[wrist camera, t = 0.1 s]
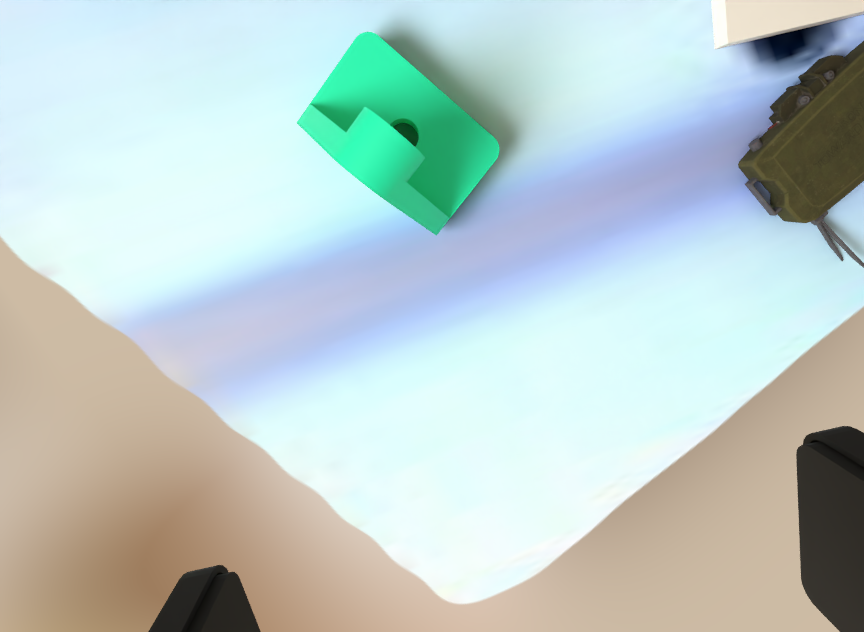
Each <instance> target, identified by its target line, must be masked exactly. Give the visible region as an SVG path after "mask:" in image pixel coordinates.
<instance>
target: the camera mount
mask: <svg viewBox="0 0 864 632" xmlns="http://www.w3.org/2000/svg"><path fill="white" fill-rule="evenodd" d="M399 123H407V124H409V125H411V126H413V127H414V128H415V130H416V132H417V134H418V142H417V145H416V146H415V147H414V146H413V145H412V144H411V143H410V142H409V141H408V140H407V139H406V138H404V137H403V136H402V135H401V134H400V133H399V132H398V131H396V130H395V129H394V128H393V127H394V126H395V125H397V124H399ZM297 124H298V125H299V126H300V127H302V128H303V129H304V130H305V131H306V132H307V133H308V134H309V135H310V136H311V137H312V138H313V139H314V140H315V141H316V142H317V143H318V144H319V145H320V146H321V147H322V148H323V149H324V150H325V151H326V152H327V153H328V154H329V155H330V156H331V157H332V158H333V159H334V160H336V161H337V162H338V163H339V164H340V165H341V166H342V167H344V168H345V169H346V170H347V171H348V172H350V173H351V174H352V175H353V176H355V177H356V178H357V179H358V180H359V181H361V182H362V183H363V184H365V185H366V186H367V187H368V188H370V189H371V190H372V191H374V192H375V193H376V194H378V195H379V196H380V197H382V198H383V199H384V200H386V201H387V202H389V203H390V204H392V205H393V206H395V207H396V208H397V209H399V210H400V211H402V212H403V213H405V214H406V215H408V216H409V217H410V218H412V219H413V220H415V221H416V222H418V223H419V224H421V225H422V226H424V227H425V228H426V229H428V230H429V231H431V232H432V233H434V234H435V235H437V234H438V233H439V232H440V230H441V229H442V228H443V227H444V225H445V224H446V223H447V221H448V220H449V219H450V218H451V216H452V215H453V214H454V213H455V211H456V210H457V209H458V208H459V206H460V205H461V204H462V203H463V201H464V200H465V199H466V197H467V196H468V195H469V194H470V192H471V191H472V190H473V189H474V187H475V186H476V185H477V184H478V182H479V181H480V180H481V179H482V177H483V176H484V175H485V173H486V172H487V171H488V170H489V168H490V167H491V166H492V165H493V163H494V162H495V161H496V159H497V158H498V155H499V144H498V142H497V140H496V139H495V138H494V137H493V136H492V135H491V134H490V133H489V132H487V131H486V130H485V129H484V128H483V127H482V126H481V125H479V124H478V123H477V122H476V121H475V120H474V119H473V118H471V117H470V116H469V115H468V114H467V113H466V112H465V111H464V110H462V109H461V108H460V107H459V106H458V105H457V104H456V103H454V102H453V101H452V100H451V99H450V98H449V97H448V96H446V95H445V94H444V93H443V92H442V91H441V90H440V89H438V88H437V87H436V86H435V85H434V84H433V83H432V82H430V81H429V80H428V79H427V78H426V77H425V76H424V75H423V74H421V73H420V72H419V71H418V70H417V69H416V68H415V67H413V66H412V65H411V64H410V63H409V62H408V61H407V60H405V59H404V58H403V57H402V56H401V55H400V54H399V53H397V52H396V51H395V50H394V49H393V48H392V47H391V46H389V45H388V44H387V43H386V42H385V41H384V40H383V39H382V38H380V37H379V36H378V35H377V34H375V33H372V32H365V33H362V34H360V35H358V36H357V37H356V39H355V40H354V41H353V43H352V44H351V46H350V47H349V49H348V50H347V52H346V53H345V54H344V56H343V57H342V59H341V60H340V62H339V63H338V64H337V66H336V67H335V69H334V70H333V72H332V73H331V74H330V76H329V77H328V79H327V80H326V82H325V83H324V85H323V86H322V87H321V89H320V90H319V92H318V93H317V95H316V96H315V97H314V99H313V100H312V102H311V103H310V105H309V106H308V107H307V109H306V110H305V112H304V113H303V115H302V116H301V118H300V119H299V120H298V122H297Z"/></svg>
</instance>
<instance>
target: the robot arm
mask: <svg viewBox="0 0 864 632" xmlns="http://www.w3.org/2000/svg"><path fill="white" fill-rule="evenodd" d="M797 480H798V481H797V482H798V508H799V531H800V533H799V534H800V558H801V559H800V560H801V580H802V584H803V587H804V589H805V592H806V594H807V596H808V597H809V599H810V600H811V602H812V603H813V604H814V605H815V606H816V607H817V608H818V609H819V611H821V613H822V614H823V615H824V616H825V617H826V618H827V619H828V620H829V621H830V622H831V623H832V624H833V625H834V626H835V627H836V628H837V629H838V630H839V631H840V632H864V433H863V432H861V431H859V430H857V429H855V428H852V427H849V426H842V427H838V428H833V429H828V430H824V431H819V432H815V433H811V434H809V435H807V436H806V437H805V439H804V442H803V445H801V446H800V447H799V448H798V449H797ZM149 632H260V629H259V627H258V624H257V622H256V619H255V616H254V614H253V612H252V609H251V606H250V604H249V601H248V599H247V596H246V594H245V591H244V588H243V586H242V583H241V581H240V579H239V576H238V575H237V574H236V573H235V572H228V570H227V569H226V568H225V567H224V566H223V565H217V566H213V567H209V568H204V569H200V570H195V571H190V572H187V573H185V574H184V575H183V576H182V577H181V578H180V579H179V581H178V583H177V584H176V586H175V588H174V589H173V591H172V593H171V594H170V596H169V598H168V600H167V601H166V603H165V605H164V606H163V608H162V610H161V611H160V613H159V615H158V617H157V618H156V620H155V622H154V623H153V625H152V627H151V628H150V630H149Z"/></svg>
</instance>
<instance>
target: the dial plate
mask: <svg viewBox="0 0 864 632" xmlns="http://www.w3.org/2000/svg"><path fill="white" fill-rule="evenodd" d="M711 3H712V17H713V31H714V45H715V49H719V48H723V47H727V46H732V45H736V44H740V43H744V42H748V41H753V40H757V39H761V38H765V37H770V36H774V35H778V34H782V33H787V32H791V31H795V30H799V29H803V28H808V27H812V26H816V25H820V24H825V23H829V22H833V21H837V20H841V19H846V18H850V17H854V16H858V15H863V14H864V0H711Z"/></svg>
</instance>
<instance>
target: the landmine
mask: <svg viewBox="0 0 864 632" xmlns="http://www.w3.org/2000/svg"><path fill="white" fill-rule="evenodd" d="M798 78H799V79H800V80H801V83H800V84H799V85H796V86H792V87H788V88H787V89H786V90H787V91H786V92H785V93H784V94H783V95H782V96H780V97H779V98H778V99H777V100H776V101H775V102H774V103H773V104H772V105H771V106H770V108H771V109H772V111H773V112H774V114H773V115H772V116H771V117H769V119H770V120H771V122H772V123H773V125H772V126H771V127H770V128H768V129H769V130H768V131H767V132H766V133H765V134H764V135H763V136H762V137H761V138H760V139H755V140H753V141H752V142H751V143H750V144H749V145H748V146H749V147H750V150H749V151H748V152H747V153H746V155H745V156H744V157H743V158H742V159H741V160H740V162H739V164H738V167H739V168H740V169H741V171H742V172H743V173H744V174H745V176H746V177H747V178H748V179H749V181H748V182H747V183H746V184H745V185H746V186H747V188H748V189H749V190H750V191H751V192H752V194H753V195H754V196H755V197H756V199H757V200H758V201H759V202H760V203H761V205H762V206H763V207H764V208H765V209H766V211H767V212H768V213H769V214H770V215H777V214H778V215H779V217H780V218H781V219H782V220H783V221H788V222H798V223H808V222H811V223H812V224H814V225H817V227H818V229H819V230H820V232H821V233H822V235H823V236H824V238H825V240H826V241H827V243H828V244H829V246H830V247H831V248H832V250H833V251H834V252H835V253H836V255H837V256H838V257H839V258H840V259H841V261H843V257H842V255H841V254H840V252H839V251H838V249H837V247H836V246H835V244H834V243H833V241H832V239H831V238H830V236H831V237H832V238H833V239H834V240H835V241H836V242H837V243H838V244H839V245H840V246H841V247H842V248H843V249H844V250H845V251H846V252H847V253H848V254H849V255H850V256H851V257H852V258H853V259H854V260H855V261H856V262H857V263H859V264H860V265H861V266H862V267H863V268H864V263H863V262H862V261H861V260H860V259H859V258H858V257H857V256H856V255H855V254H854V253H853V252H852V251H851V250H850V249H849V247H848V246H847V245H846V244H845V243H844V242H843V241H842V240H841V239H840V238H839V237H838V236H837V235H836V234H835V233H834V232H833V231H832V230H831V229H830V228H829V227H828V225H827V224H826V223H825V222H824V221H823V219H824V217H825V216H826V215H827V214H828V212H827V210H828V209H830V208H831V207H832V206H833V205H835V204H836V203H837V202H838V201H840V200H841V199H842V198H843V197H845V196H846V195H847V194H848V193H850V192H851V191H852V190H853V189H854V188H856V187H857V186H858V185H859V184H860V183H862V182H863V181H864V41H863V42H862V43H861V44H859V45H858V46H857V47H856V48H855V49H854V50H852V51H851V52H850V53H849V54H848V55H847V56H845V57H844V58H843V56H835V55H831V56H828V57H825V58H822V59H819V60H818V61H817V62H816V63H815V64H814V65H813V66H812V67H810V68H809V69H808V70H807V71H806V72H805V73H804V74H803V75H800V76H799V77H798ZM756 181H759V182H761V183H762V185H763V186H764V187H765V188H766V189H767V190H768V191H769V193H770V205H769V204H768V202H767V201H766V200H765V199H764V198H763V196H762V195H761V194H760V193H759V191H758V190H757V189H756V188H755V187H754V185H753V184H754V183H755V182H756ZM827 232H828V233H829V234H830V236H829V235H828V233H827Z"/></svg>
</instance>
